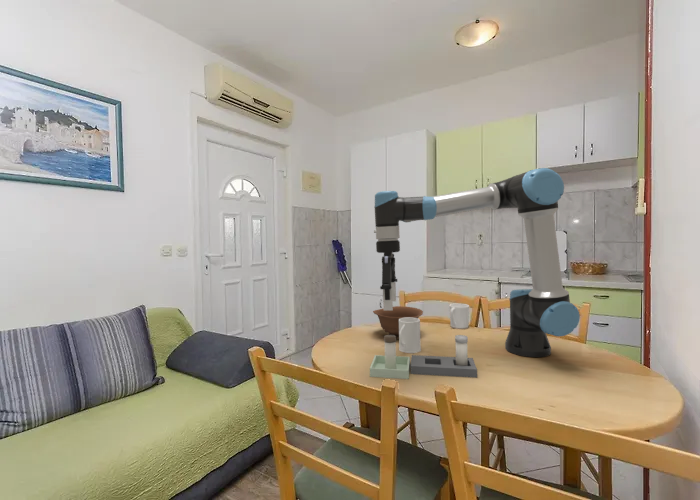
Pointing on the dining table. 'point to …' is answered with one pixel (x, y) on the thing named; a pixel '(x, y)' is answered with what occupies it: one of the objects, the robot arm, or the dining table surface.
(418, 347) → the mug
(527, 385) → the dining table surface
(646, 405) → the dining table surface
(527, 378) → the dining table surface
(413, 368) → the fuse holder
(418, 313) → the bowl
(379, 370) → the tray
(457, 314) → the mug
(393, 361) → the cylinder
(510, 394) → the dining table surface
